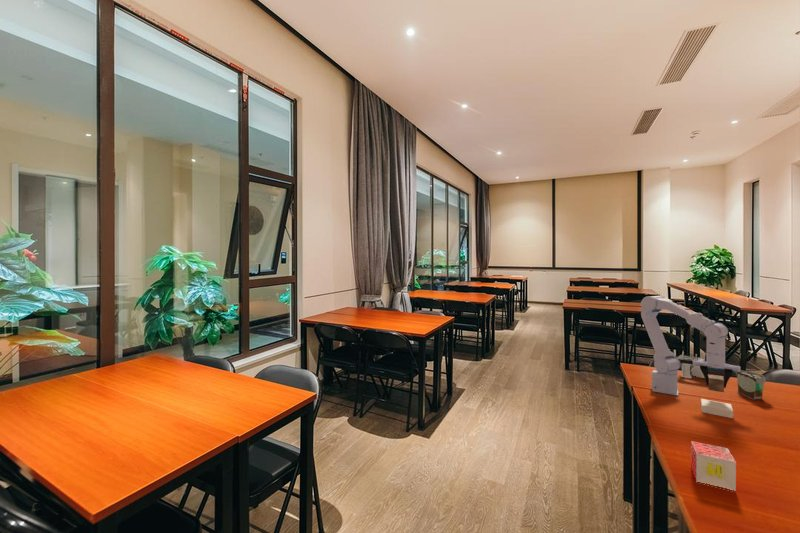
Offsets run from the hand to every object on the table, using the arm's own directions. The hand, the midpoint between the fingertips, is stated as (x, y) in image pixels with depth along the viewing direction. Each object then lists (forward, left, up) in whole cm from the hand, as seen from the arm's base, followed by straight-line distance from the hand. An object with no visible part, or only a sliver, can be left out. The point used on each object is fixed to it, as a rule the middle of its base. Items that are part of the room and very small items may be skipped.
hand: (715, 385), depth 144 cm
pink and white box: (-4, -65, -9) cm, 66 cm away
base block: (0, -6, -9) cm, 11 cm away
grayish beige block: (0, 0, -2) cm, 2 cm away
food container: (+14, +24, -9) cm, 29 cm away
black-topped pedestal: (-6, +40, -9) cm, 42 cm away
